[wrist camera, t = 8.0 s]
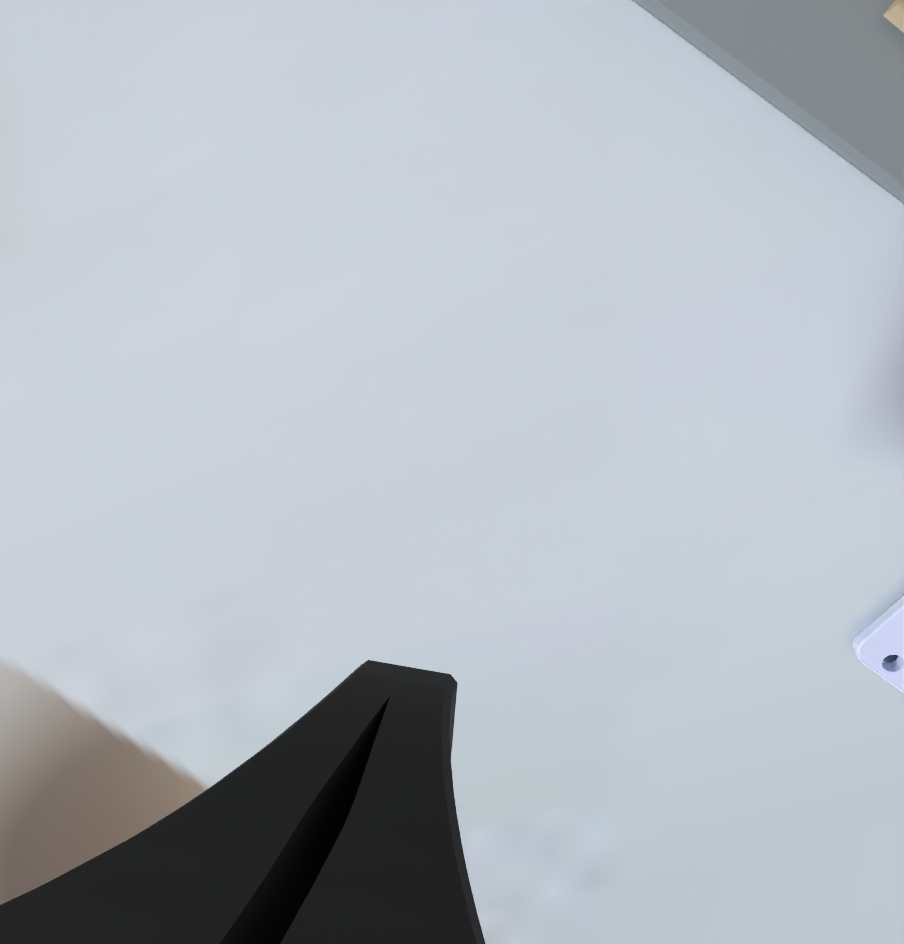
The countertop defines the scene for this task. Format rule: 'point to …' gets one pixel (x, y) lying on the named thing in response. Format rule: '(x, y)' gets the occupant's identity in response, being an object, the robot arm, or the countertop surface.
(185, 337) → the countertop surface
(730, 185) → the countertop surface
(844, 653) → the countertop surface
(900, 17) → the sprocket
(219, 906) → the robot arm
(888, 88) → the base board
